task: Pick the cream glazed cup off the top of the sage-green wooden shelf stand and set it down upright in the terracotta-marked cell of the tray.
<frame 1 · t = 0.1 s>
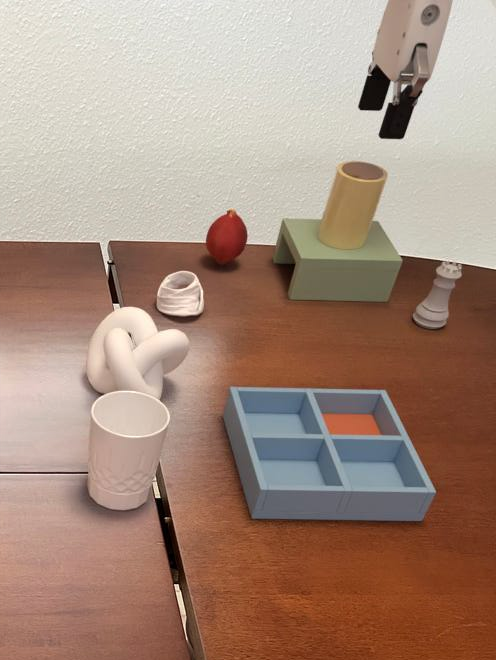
hand: (379, 123, 117), 19 cm above the table, tool pointing down, fingers open, 9 cm apart
onion: (220, 265, 131), on the table
tray: (316, 465, 100), on the table
shelf: (328, 279, 129), on the table
white cup: (118, 492, 96), on the table
cup: (341, 238, 124), point 6 cm above the table, touching shelf
rook chess piece: (427, 323, 122), on the table
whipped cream: (179, 309, 122), on the table
pretzel: (129, 396, 108), on the table
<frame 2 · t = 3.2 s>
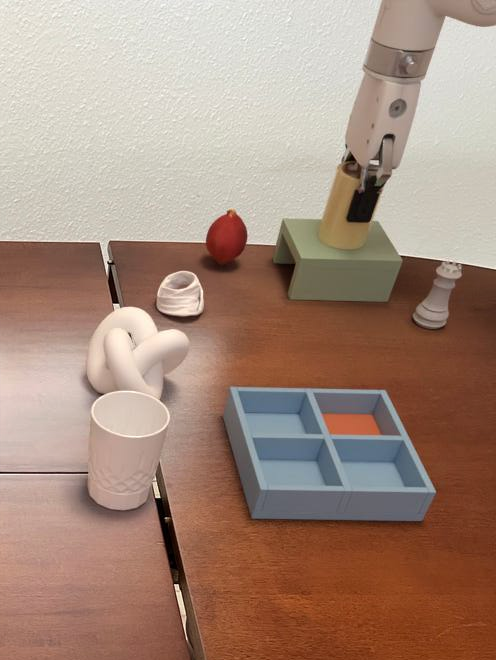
hand: (350, 208, 121), 10 cm above the table, tool pointing down, fingers closed on cup, 6 cm apart
cup: (341, 238, 124), point 6 cm above the table, touching gripper, shelf
everything else where it was.
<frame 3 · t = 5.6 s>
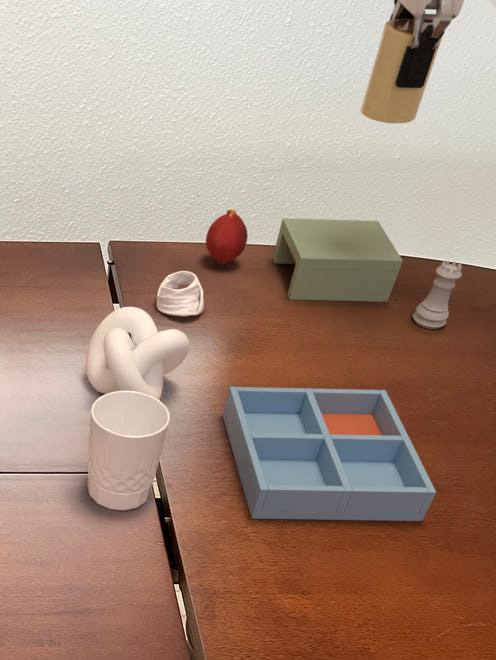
hand: (399, 74, 106), 27 cm above the table, tool pointing down, fingers closed on cup, 6 cm apart
cup: (387, 113, 109), point 23 cm above the table, touching gripper
everything else where it was.
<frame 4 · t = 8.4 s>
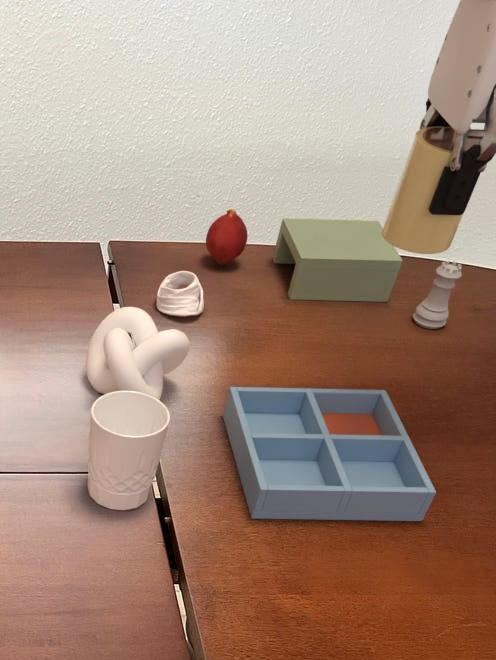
hand: (433, 194, 84), 27 cm above the table, tool pointing down, fingers closed on cup, 6 cm apart
cup: (415, 238, 87), point 23 cm above the table, touching gripper
everything else where it was.
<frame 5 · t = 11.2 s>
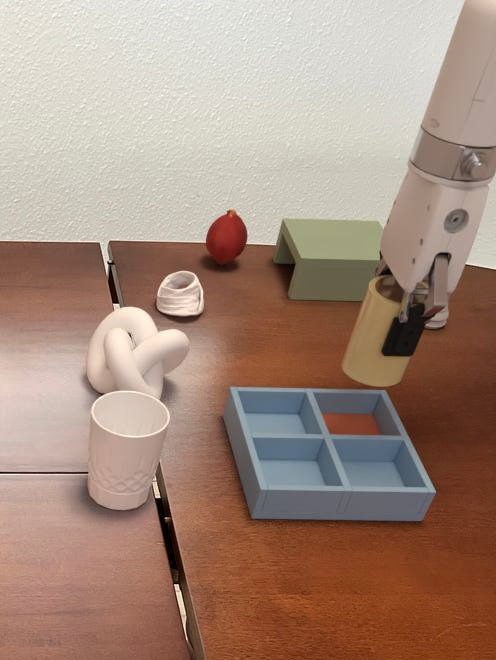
hand: (386, 334, 93), 14 cm above the table, tool pointing down, fingers closed on cup, 6 cm apart
cup: (371, 369, 96), point 10 cm above the table, touching gripper
everything else where it was.
when the fingers open (5 cm above the table, at t = 13.7 s): cup stays where it is, resting on tray.
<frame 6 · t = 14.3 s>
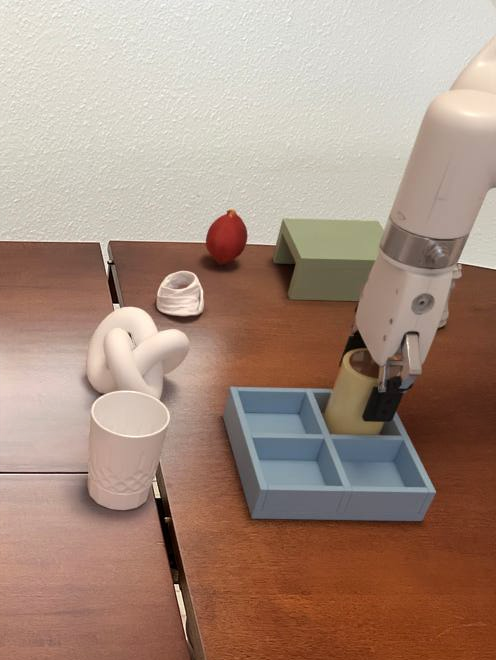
hand: (363, 393, 98), 7 cm above the table, tool pointing down, fingers open, 9 cm apart
cup: (347, 433, 102), point 1 cm above the table, touching tray
everything else where it was.
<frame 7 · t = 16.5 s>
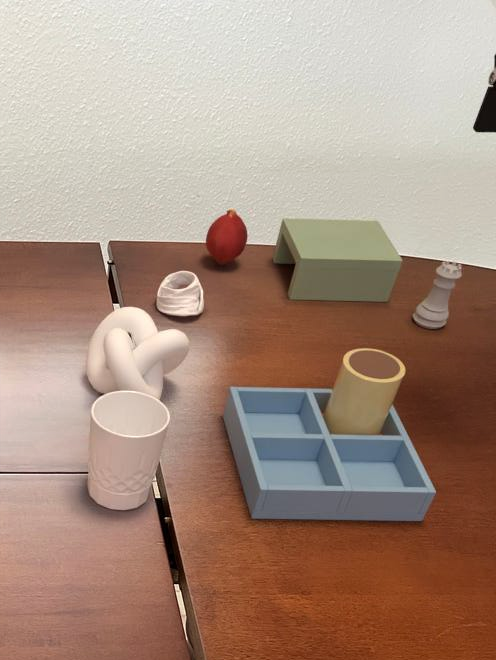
nothing on the table moved.
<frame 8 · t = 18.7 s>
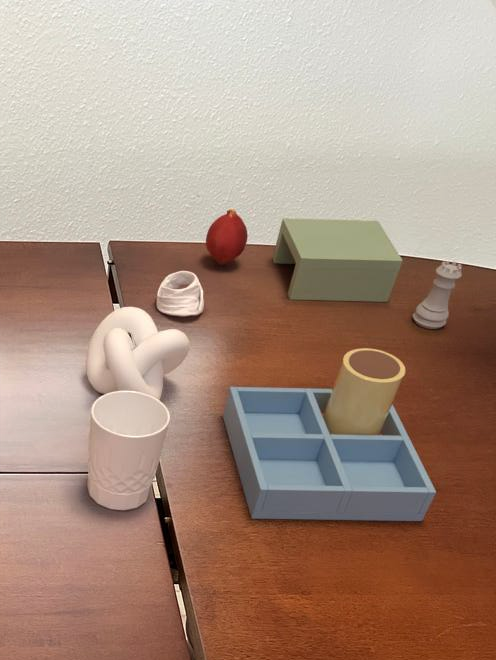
nothing on the table moved.
at the end: cup 0.1 cm from the target spot in the tray, point 1.2 cm above the tray's base; cup tilted 0°; the gripper is holding nothing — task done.
